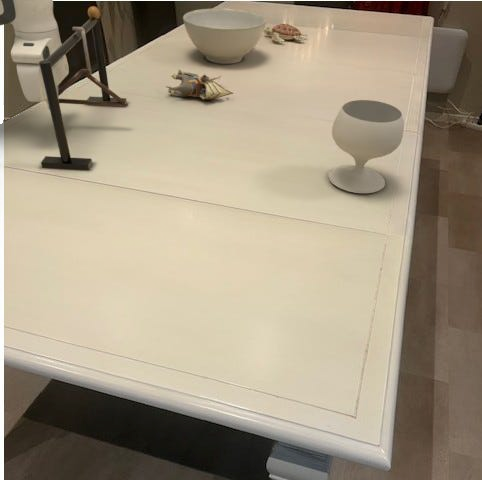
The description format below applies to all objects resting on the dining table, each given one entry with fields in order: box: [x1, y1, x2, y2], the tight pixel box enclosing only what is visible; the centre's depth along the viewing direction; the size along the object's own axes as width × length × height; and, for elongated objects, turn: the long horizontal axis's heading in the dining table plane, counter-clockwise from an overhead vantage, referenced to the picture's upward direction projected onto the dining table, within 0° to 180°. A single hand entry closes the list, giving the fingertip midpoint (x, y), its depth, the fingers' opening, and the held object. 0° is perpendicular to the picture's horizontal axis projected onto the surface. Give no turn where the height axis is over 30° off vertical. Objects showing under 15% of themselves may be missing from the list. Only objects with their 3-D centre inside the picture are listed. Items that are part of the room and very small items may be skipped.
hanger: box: [58, 26, 129, 108], centre depth 109 cm, size 1×19×16 cm, turn 88°
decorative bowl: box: [182, 7, 267, 65], centre depth 160 cm, size 27×27×12 cm
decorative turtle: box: [263, 23, 308, 43], centre depth 183 cm, size 18×17×5 cm
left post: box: [86, 5, 128, 108], centre depth 122 cm, size 3×10×23 cm, turn 88°
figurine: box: [165, 69, 234, 101], centre depth 135 cm, size 20×6×17 cm
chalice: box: [328, 99, 405, 194], centre depth 99 cm, size 14×14×15 cm
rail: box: [39, 17, 98, 171], centre depth 109 cm, size 38×10×21 cm, turn 178°
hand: (54, 107), depth 113 cm, fingers closed
